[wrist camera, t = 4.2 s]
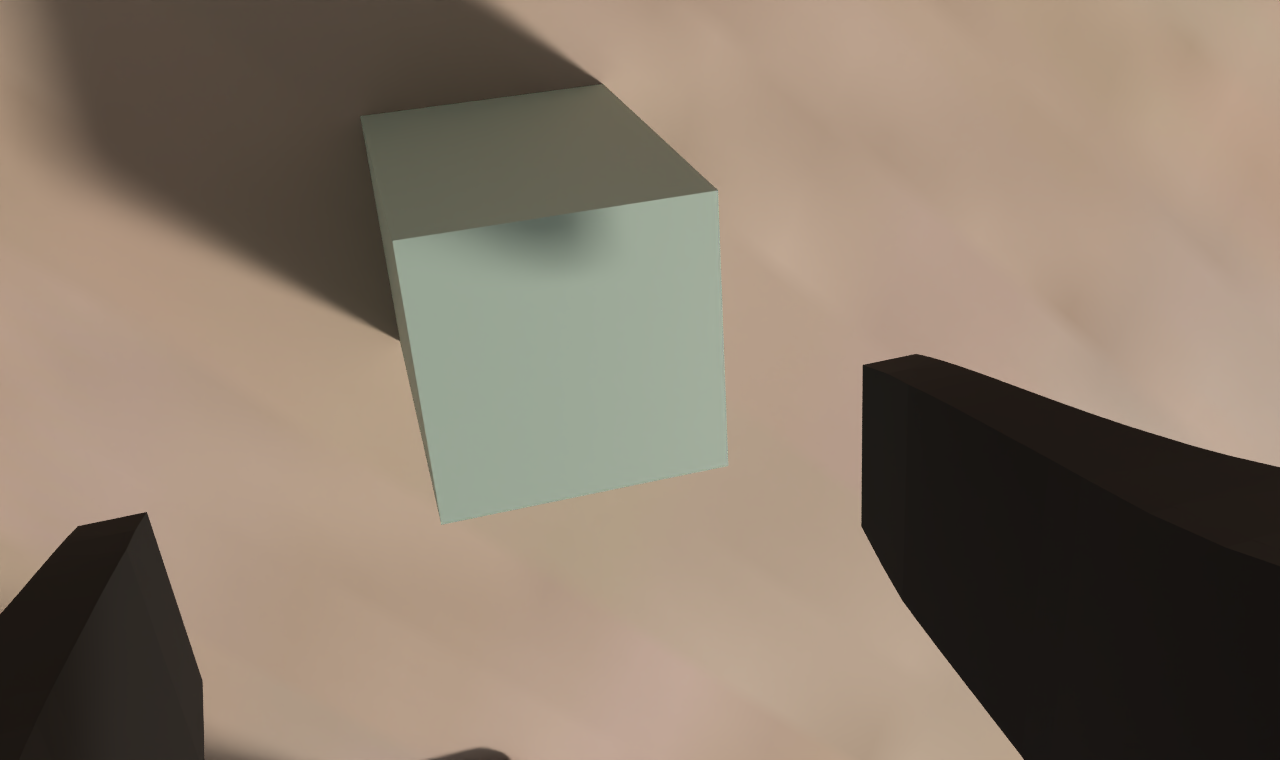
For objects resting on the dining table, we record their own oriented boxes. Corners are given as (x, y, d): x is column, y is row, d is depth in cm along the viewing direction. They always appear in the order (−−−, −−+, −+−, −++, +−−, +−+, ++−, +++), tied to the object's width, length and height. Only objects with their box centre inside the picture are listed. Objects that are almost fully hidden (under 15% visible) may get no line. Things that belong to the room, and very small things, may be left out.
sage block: (620, 302, 22) (727, 465, 17) (399, 341, 21) (440, 524, 16) (602, 83, 20) (717, 190, 15) (360, 115, 19) (392, 240, 14)
